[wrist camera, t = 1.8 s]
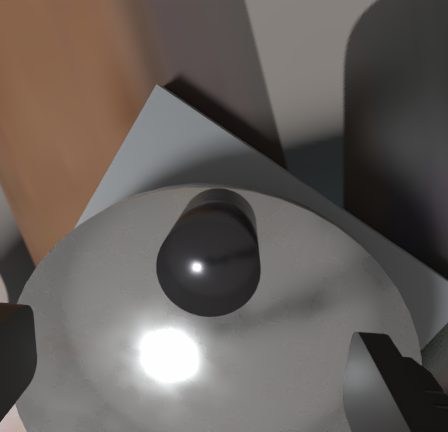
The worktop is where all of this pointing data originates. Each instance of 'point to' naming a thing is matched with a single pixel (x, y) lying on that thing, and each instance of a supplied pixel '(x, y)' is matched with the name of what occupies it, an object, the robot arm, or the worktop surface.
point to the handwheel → (203, 316)
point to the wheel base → (252, 177)
